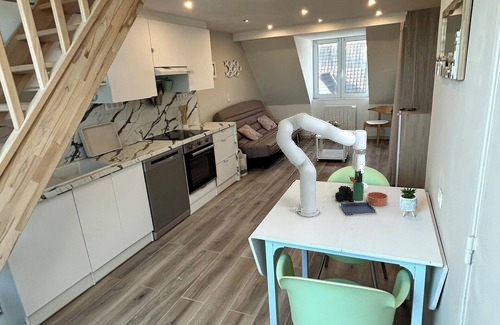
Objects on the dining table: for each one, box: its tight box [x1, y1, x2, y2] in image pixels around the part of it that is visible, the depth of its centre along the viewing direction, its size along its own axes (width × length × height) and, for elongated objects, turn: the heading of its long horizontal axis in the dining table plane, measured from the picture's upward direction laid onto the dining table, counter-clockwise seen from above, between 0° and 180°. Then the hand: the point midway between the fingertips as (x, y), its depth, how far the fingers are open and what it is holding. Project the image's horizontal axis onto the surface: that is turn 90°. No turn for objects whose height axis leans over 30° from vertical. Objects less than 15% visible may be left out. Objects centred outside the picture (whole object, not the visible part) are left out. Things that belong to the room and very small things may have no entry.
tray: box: [340, 201, 376, 216], centre depth 190 cm, size 17×12×2 cm
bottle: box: [352, 172, 365, 202], centre depth 186 cm, size 6×6×18 cm
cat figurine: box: [348, 174, 369, 193], centre depth 222 cm, size 13×12×18 cm
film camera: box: [334, 185, 355, 203], centre depth 205 cm, size 15×10×9 cm, turn 16°
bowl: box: [366, 191, 389, 207], centre depth 197 cm, size 12×12×6 cm
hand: (358, 180), depth 185 cm, fingers closed on bottle, 2 cm apart
